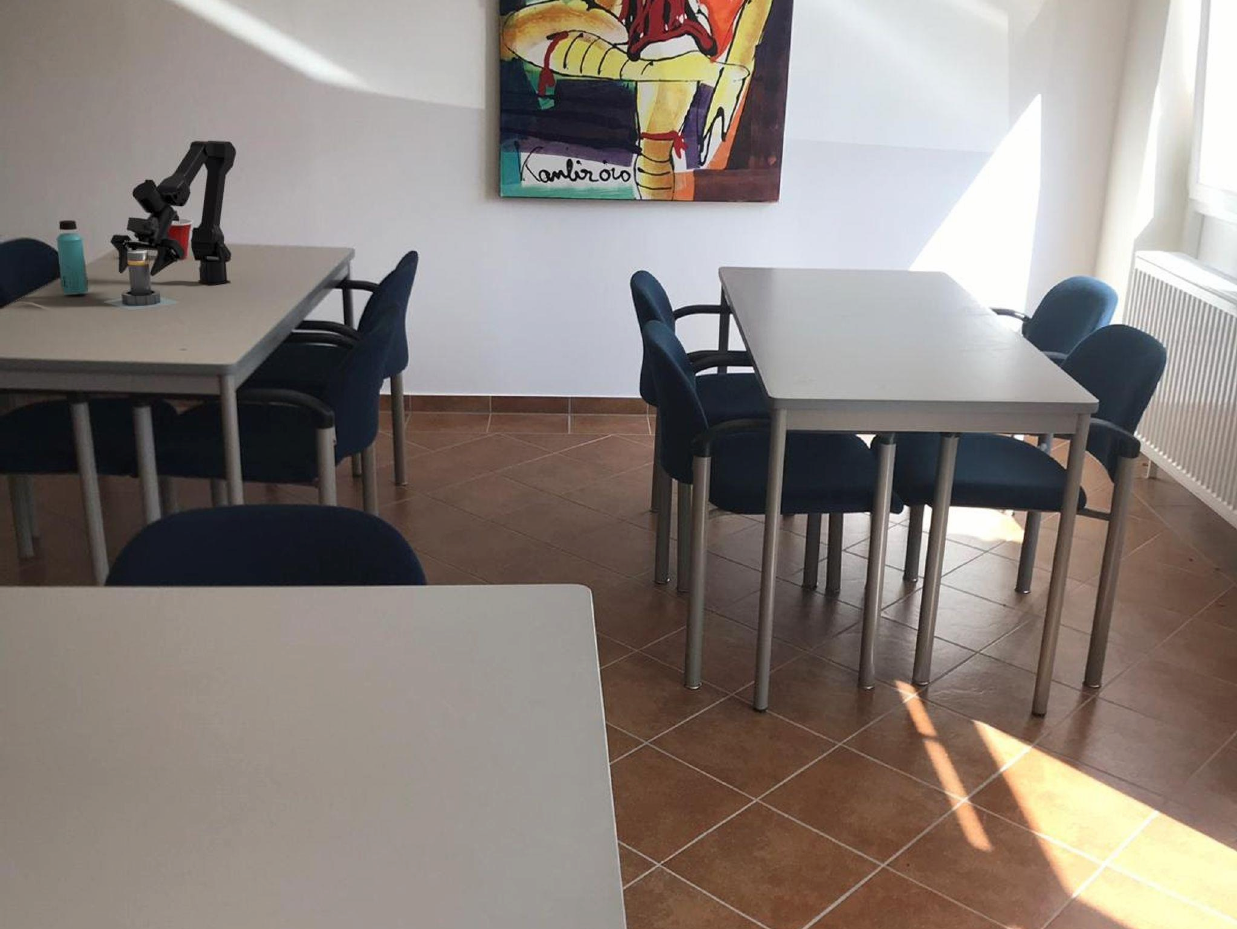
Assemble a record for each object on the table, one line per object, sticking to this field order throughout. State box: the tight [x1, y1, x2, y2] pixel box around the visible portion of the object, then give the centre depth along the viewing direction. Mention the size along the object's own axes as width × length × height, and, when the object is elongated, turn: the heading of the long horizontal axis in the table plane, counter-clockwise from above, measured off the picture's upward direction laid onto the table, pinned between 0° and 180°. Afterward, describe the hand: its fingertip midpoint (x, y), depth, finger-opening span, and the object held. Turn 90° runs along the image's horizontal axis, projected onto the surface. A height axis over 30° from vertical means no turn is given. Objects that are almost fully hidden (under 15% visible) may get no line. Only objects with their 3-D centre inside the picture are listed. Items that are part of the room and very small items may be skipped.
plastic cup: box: [168, 217, 194, 260], centre depth 396 cm, size 11×11×12 cm
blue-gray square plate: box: [102, 296, 181, 311], centre depth 333 cm, size 14×14×1 cm
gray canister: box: [127, 249, 152, 295], centre depth 331 cm, size 5×5×13 cm
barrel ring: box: [121, 288, 161, 306], centre depth 333 cm, size 9×9×2 cm
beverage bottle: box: [56, 219, 89, 295], centre depth 336 cm, size 6×7×20 cm
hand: (135, 273), depth 329 cm, fingers open, 9 cm apart
